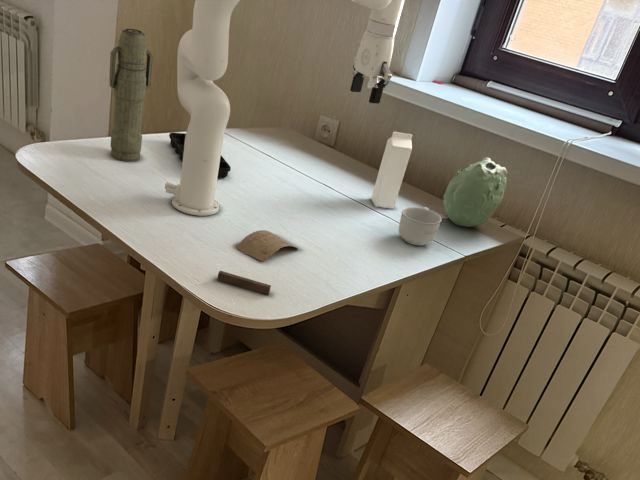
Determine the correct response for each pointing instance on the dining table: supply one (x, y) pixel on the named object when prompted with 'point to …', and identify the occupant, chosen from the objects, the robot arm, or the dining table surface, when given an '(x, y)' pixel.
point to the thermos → (129, 93)
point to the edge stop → (244, 282)
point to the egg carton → (178, 145)
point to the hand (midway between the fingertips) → (364, 97)
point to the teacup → (419, 225)
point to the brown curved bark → (261, 244)
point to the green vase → (475, 193)
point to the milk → (392, 170)
